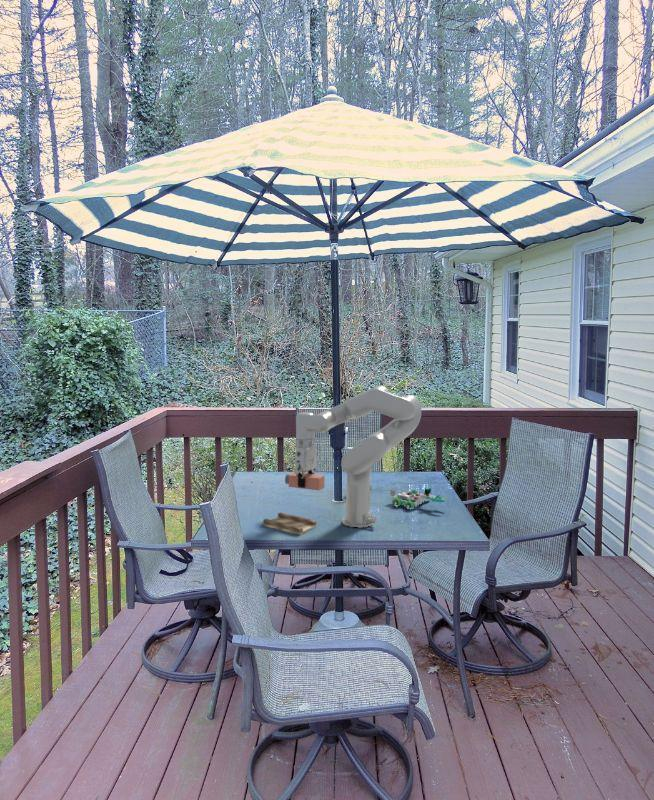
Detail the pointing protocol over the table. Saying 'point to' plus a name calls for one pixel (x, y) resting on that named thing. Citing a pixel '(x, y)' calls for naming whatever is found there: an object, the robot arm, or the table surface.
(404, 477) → the table surface
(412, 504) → the robot kit
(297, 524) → the cradle
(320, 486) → the salmon rectangular block
